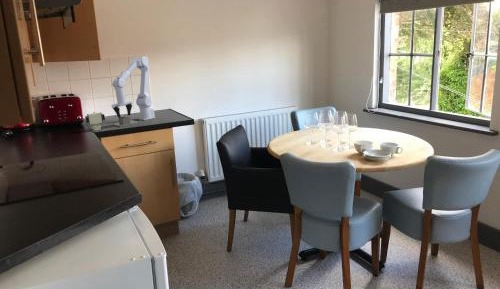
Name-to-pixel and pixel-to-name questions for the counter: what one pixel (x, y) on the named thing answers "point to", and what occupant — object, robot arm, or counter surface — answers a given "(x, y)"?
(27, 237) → the counter surface
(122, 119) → the knob
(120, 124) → the mount plate
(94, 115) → the pneumatic valve
